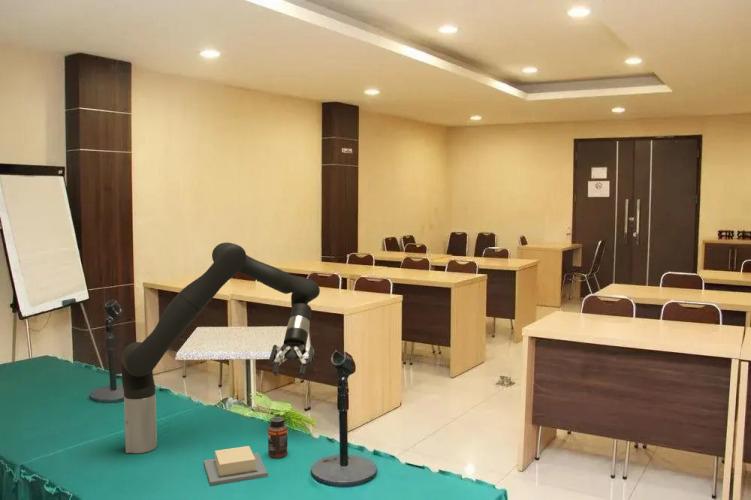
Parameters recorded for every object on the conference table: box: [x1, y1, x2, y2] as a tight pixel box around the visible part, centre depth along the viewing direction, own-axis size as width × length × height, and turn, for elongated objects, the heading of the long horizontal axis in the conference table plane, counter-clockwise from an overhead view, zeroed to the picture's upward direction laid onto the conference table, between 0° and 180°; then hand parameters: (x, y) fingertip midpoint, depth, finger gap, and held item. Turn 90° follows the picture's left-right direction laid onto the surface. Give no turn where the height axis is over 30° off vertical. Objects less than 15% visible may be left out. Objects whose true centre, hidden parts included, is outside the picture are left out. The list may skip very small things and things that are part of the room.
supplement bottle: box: [267, 416, 289, 459], centre depth 195 cm, size 6×6×11 cm
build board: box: [203, 445, 269, 486], centre depth 184 cm, size 16×15×4 cm
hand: (288, 375), depth 204 cm, fingers open, 8 cm apart
